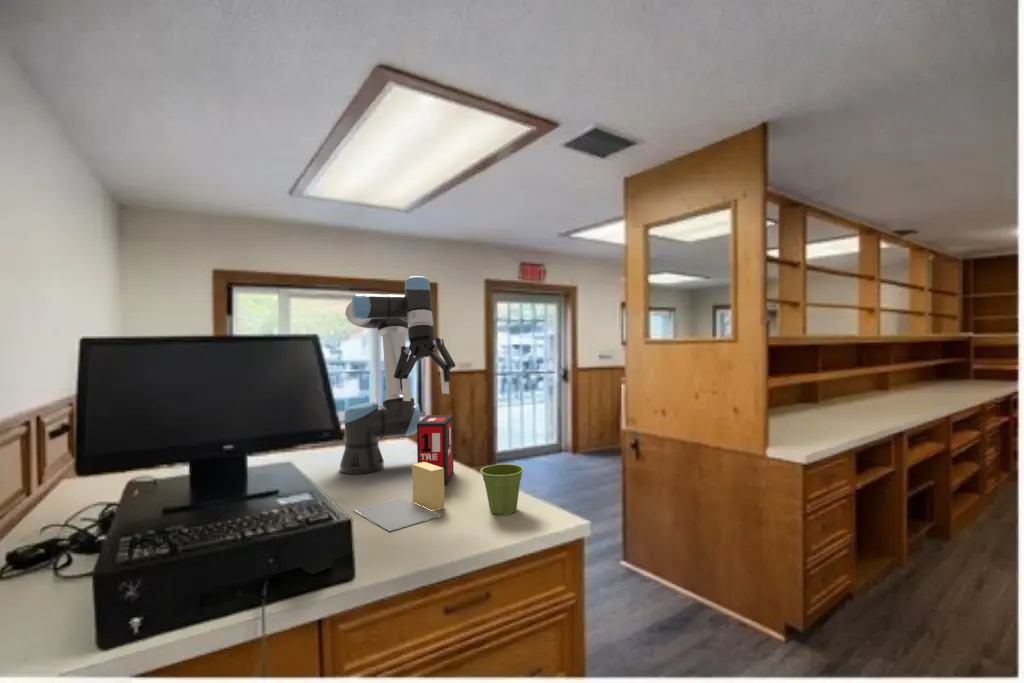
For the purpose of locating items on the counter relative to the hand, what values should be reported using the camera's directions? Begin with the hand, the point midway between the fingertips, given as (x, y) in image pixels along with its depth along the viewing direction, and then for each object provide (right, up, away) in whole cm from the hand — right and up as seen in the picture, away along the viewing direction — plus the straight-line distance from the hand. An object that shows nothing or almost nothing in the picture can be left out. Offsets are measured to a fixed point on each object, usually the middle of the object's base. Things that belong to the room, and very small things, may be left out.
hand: (426, 397), depth 143 cm
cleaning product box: (0, -30, +21) cm, 36 cm away
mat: (-6, -30, -11) cm, 33 cm away
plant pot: (+22, -30, -10) cm, 39 cm away
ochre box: (+2, -30, -5) cm, 30 cm away
